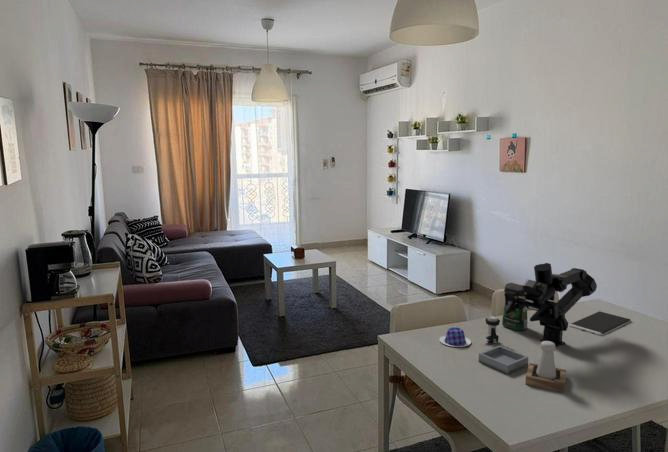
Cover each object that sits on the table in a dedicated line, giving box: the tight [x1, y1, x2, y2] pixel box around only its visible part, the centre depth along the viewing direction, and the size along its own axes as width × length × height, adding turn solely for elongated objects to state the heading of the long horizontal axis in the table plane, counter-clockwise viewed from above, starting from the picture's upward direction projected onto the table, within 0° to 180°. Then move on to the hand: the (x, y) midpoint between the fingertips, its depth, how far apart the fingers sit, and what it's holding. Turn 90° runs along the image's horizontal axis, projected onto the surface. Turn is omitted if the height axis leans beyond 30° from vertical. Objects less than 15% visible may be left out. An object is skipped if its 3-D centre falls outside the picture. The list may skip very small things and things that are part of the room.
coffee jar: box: [501, 282, 528, 331], centre depth 191 cm, size 10×8×19 cm
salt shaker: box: [535, 341, 557, 381], centre depth 146 cm, size 6×6×13 cm
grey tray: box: [478, 345, 529, 375], centre depth 160 cm, size 12×12×3 cm
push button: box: [483, 315, 501, 345], centre depth 177 cm, size 7×5×10 cm
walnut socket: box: [524, 362, 567, 393], centre depth 147 cm, size 11×11×2 cm
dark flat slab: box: [568, 310, 632, 337], centre depth 195 cm, size 13×27×2 cm, turn 125°
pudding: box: [438, 326, 472, 348], centre depth 178 cm, size 12×12×5 cm
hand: (517, 316), depth 159 cm, fingers open, 9 cm apart
